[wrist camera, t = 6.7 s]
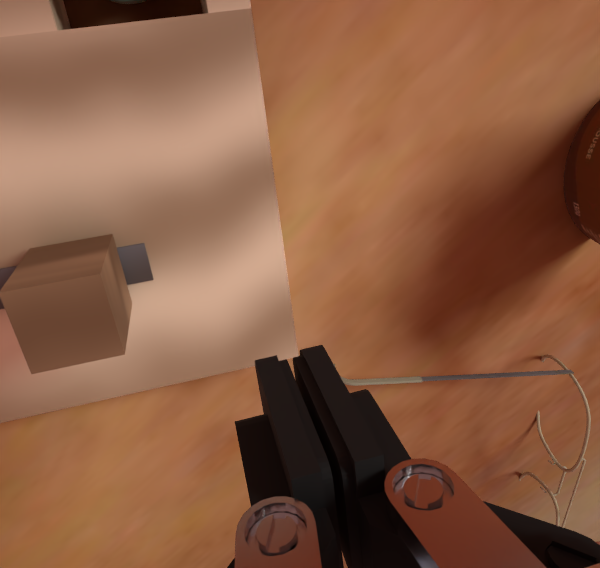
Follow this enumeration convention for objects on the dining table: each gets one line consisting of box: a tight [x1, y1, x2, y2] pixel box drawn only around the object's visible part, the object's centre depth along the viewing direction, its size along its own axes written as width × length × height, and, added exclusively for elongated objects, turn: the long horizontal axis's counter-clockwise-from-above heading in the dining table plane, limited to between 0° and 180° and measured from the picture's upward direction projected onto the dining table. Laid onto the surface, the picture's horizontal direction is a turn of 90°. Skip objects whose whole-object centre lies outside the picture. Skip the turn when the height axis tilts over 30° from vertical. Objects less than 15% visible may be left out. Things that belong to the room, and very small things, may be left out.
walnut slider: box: [0, 234, 132, 374], centre depth 18 cm, size 3×3×4 cm
